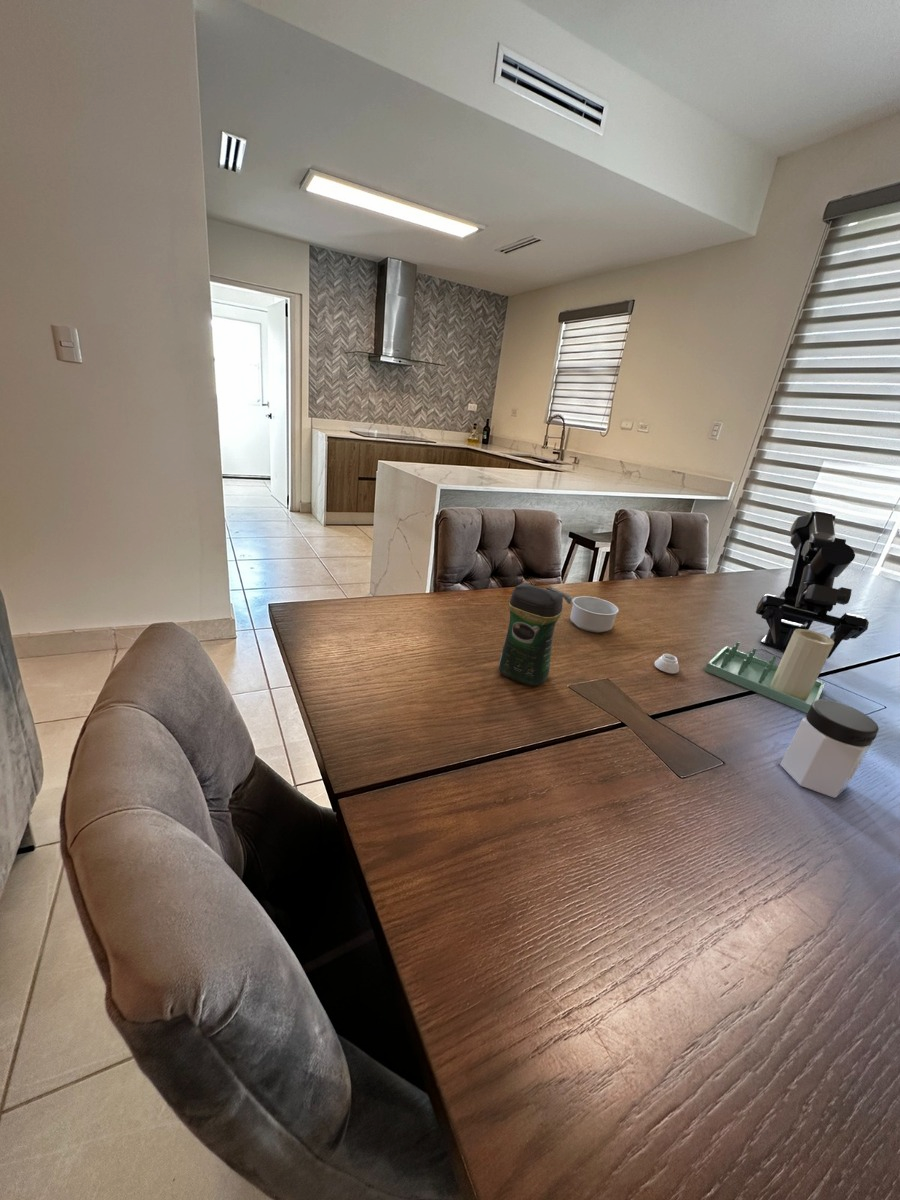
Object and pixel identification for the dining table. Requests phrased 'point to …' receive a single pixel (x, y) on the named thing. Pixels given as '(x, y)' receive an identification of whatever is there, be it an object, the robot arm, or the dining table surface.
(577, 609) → the saucepan
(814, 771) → the jar
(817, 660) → the beige cylindrical vase
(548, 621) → the coffee jar
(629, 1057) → the dining table surface
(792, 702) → the dish rack
